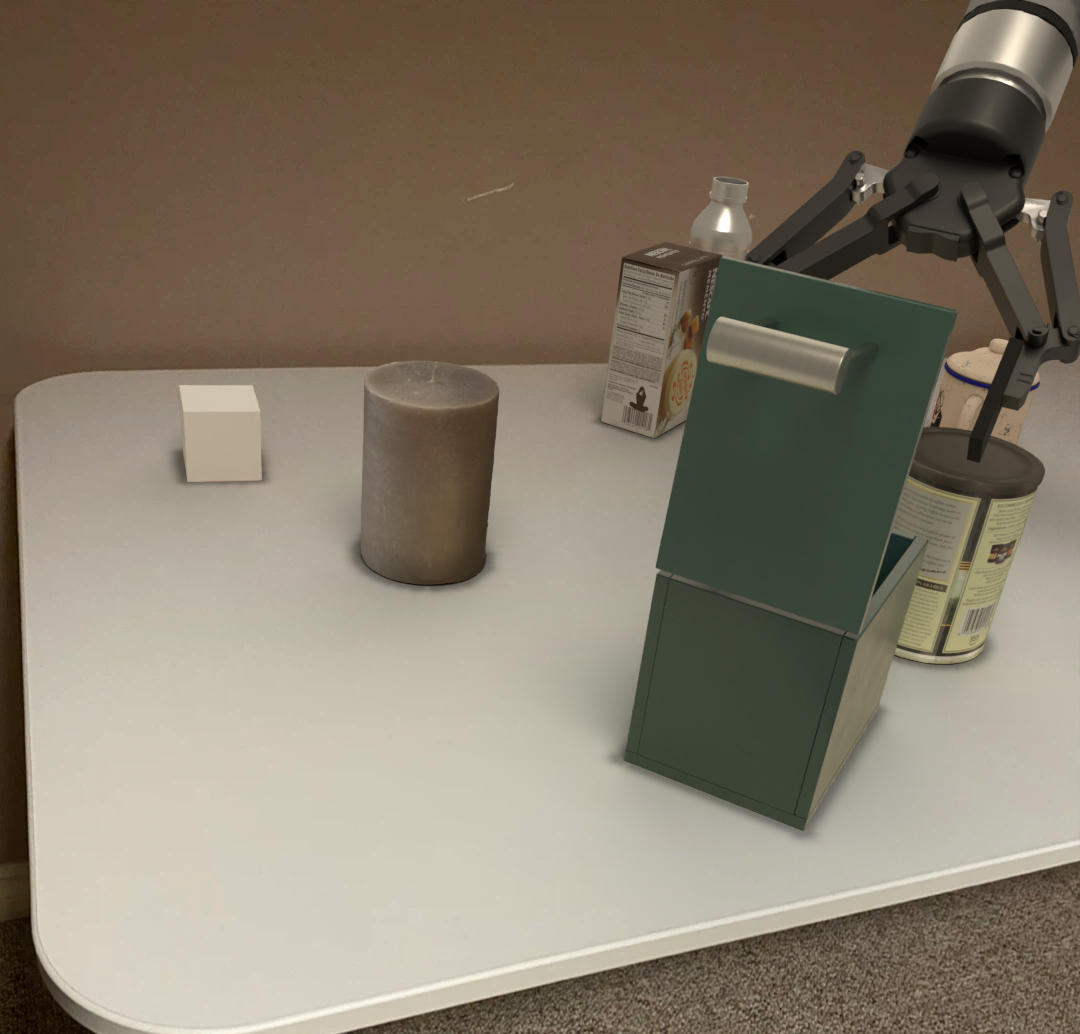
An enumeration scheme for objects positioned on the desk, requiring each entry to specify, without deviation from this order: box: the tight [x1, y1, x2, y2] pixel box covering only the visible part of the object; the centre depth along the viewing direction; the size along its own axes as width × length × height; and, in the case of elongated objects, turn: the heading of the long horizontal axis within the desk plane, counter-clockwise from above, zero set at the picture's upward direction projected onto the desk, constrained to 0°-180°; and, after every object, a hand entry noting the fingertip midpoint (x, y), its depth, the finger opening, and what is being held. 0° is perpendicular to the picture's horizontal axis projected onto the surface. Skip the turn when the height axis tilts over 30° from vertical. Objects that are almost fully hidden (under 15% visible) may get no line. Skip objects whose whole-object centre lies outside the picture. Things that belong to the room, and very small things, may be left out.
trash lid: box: [654, 257, 959, 635], centre depth 60 cm, size 16×12×8 cm
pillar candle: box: [360, 360, 500, 586], centre depth 92 cm, size 10×10×15 cm
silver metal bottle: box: [688, 176, 753, 261], centre depth 135 cm, size 6×7×20 cm
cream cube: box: [178, 384, 263, 483], centre depth 104 cm, size 6×6×6 cm
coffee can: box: [893, 426, 1046, 665], centre depth 91 cm, size 10×10×14 cm
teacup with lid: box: [928, 338, 1041, 446], centre depth 123 cm, size 12×9×12 cm
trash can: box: [623, 529, 929, 831], centre depth 77 cm, size 16×12×13 cm
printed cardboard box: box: [600, 241, 722, 439], centre depth 122 cm, size 9×6×16 cm
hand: (858, 420), depth 74 cm, fingers open, 13 cm apart
